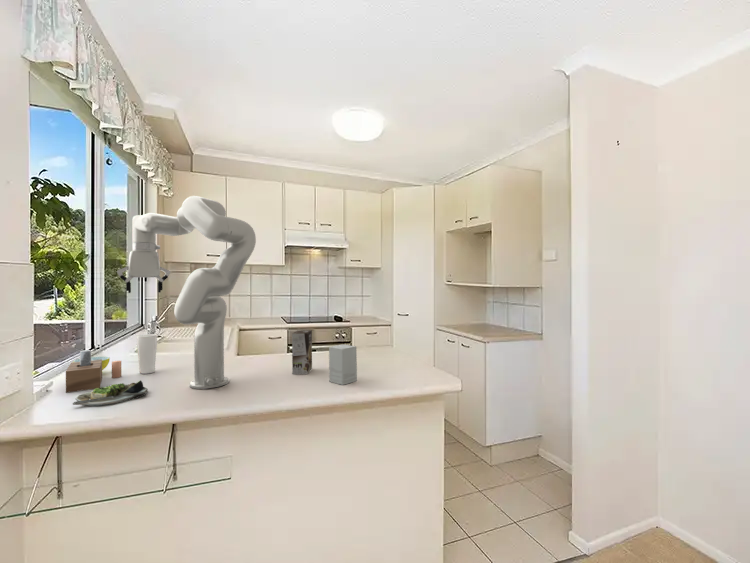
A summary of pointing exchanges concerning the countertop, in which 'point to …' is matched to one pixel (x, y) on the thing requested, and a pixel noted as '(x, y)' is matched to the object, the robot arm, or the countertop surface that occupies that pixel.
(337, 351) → the supplement box
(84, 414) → the countertop surface
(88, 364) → the long pin
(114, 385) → the salad plate
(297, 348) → the coffee box
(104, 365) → the bowl
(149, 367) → the drinking glass
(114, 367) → the short pin
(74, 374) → the brown slotted box
